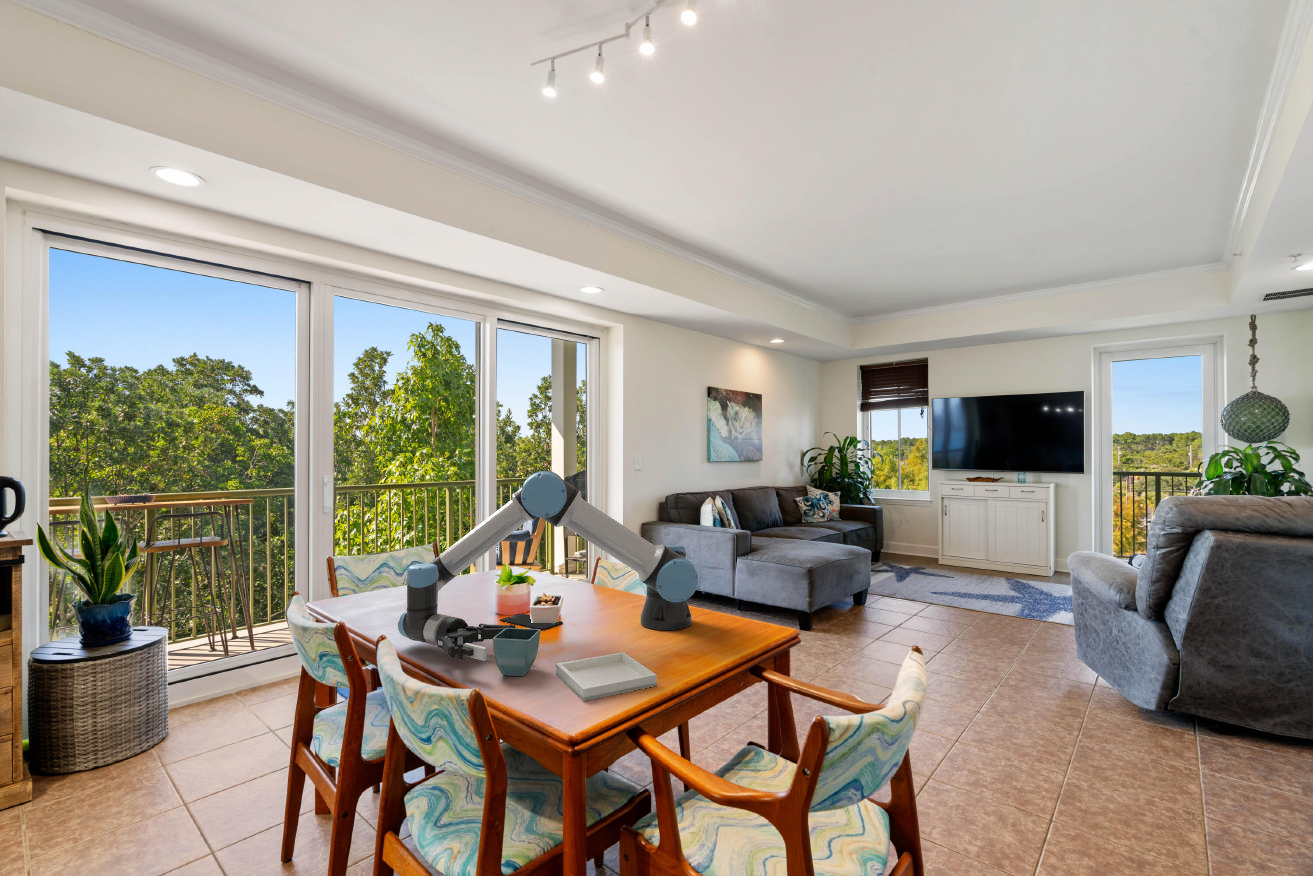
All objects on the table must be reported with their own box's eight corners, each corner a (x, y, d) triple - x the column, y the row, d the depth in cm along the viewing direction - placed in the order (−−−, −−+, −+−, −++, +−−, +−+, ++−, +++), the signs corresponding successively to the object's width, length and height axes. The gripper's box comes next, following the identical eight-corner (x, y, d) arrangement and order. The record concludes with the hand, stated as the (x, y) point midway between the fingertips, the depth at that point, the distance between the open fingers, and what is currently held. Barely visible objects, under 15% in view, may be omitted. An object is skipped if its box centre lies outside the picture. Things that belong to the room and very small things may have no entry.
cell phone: (520, 615, 191) (520, 612, 191) (563, 624, 181) (563, 621, 181) (499, 622, 183) (499, 619, 183) (542, 632, 173) (542, 628, 173)
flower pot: (541, 666, 144) (541, 628, 145) (529, 680, 136) (529, 640, 136) (505, 665, 145) (505, 627, 146) (491, 679, 137) (491, 638, 137)
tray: (623, 662, 147) (623, 652, 147) (656, 686, 132) (656, 674, 132) (556, 674, 139) (556, 663, 139) (583, 701, 124) (583, 689, 124)
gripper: (485, 634, 163) (544, 647, 152) (403, 661, 142) (465, 679, 131) (485, 606, 163) (544, 617, 152) (403, 629, 142) (465, 644, 131)
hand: (508, 646), depth 141 cm, fingers open, 13 cm apart
